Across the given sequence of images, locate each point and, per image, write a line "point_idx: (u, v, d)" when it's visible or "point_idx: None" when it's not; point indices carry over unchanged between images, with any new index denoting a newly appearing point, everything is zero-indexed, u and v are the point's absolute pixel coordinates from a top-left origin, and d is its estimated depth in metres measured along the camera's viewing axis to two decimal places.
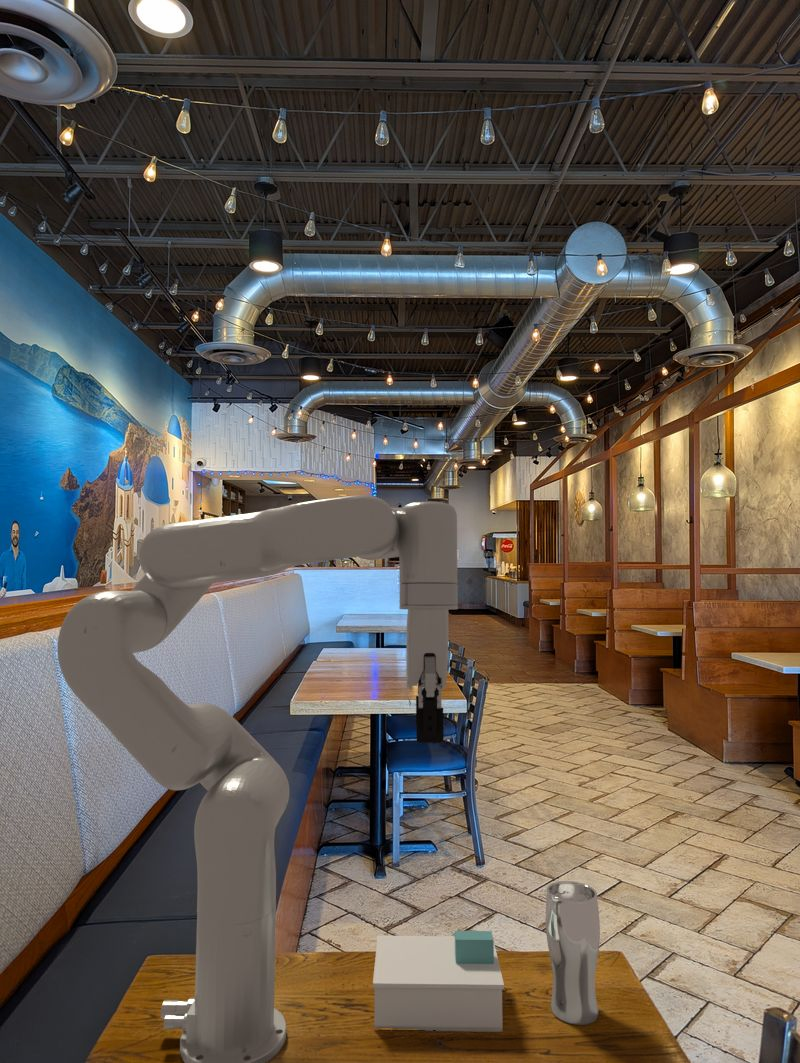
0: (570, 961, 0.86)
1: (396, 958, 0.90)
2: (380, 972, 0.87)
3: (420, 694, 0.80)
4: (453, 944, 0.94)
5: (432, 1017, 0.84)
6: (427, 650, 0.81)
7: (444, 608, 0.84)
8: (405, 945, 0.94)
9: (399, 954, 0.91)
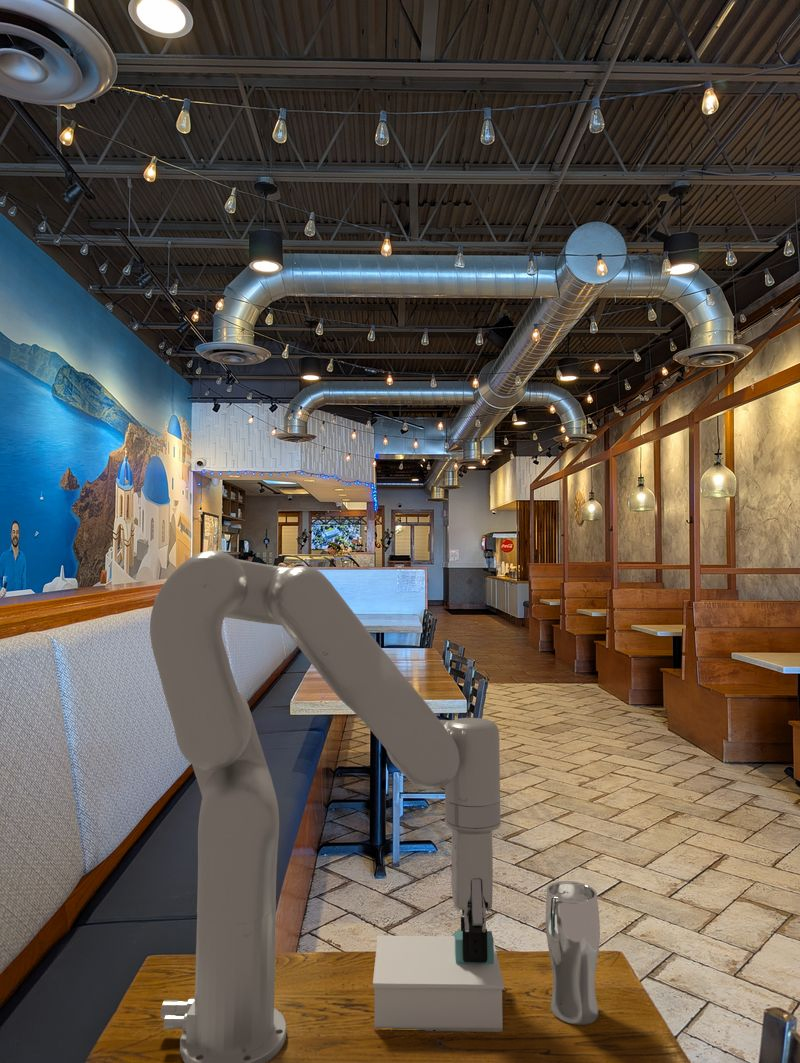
0: (570, 961, 0.86)
1: (396, 958, 0.90)
2: (380, 972, 0.87)
3: (466, 921, 0.88)
4: (453, 944, 0.94)
5: (432, 1017, 0.84)
6: (474, 876, 0.86)
7: (489, 830, 0.89)
8: (405, 945, 0.94)
9: (399, 954, 0.91)
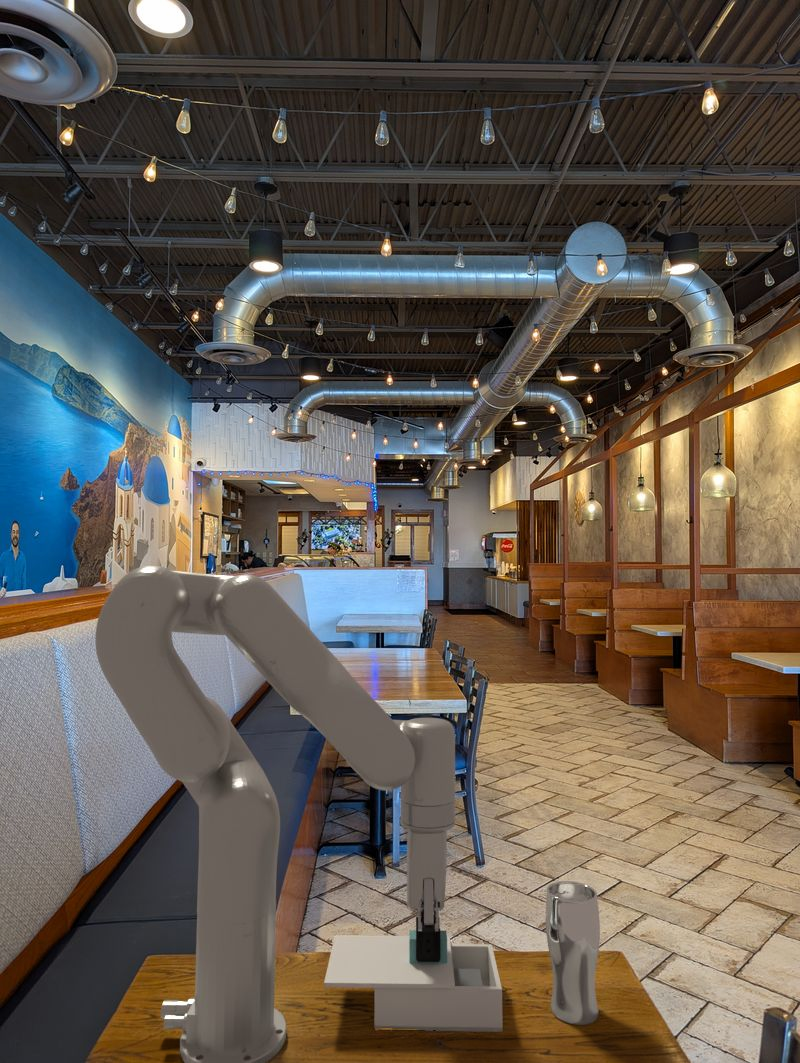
0: (570, 961, 0.86)
1: (350, 958, 0.90)
2: (333, 971, 0.87)
3: (419, 921, 0.88)
4: None
5: (432, 1017, 0.84)
6: (427, 875, 0.86)
7: (442, 830, 0.89)
8: (361, 944, 0.94)
9: (353, 953, 0.91)
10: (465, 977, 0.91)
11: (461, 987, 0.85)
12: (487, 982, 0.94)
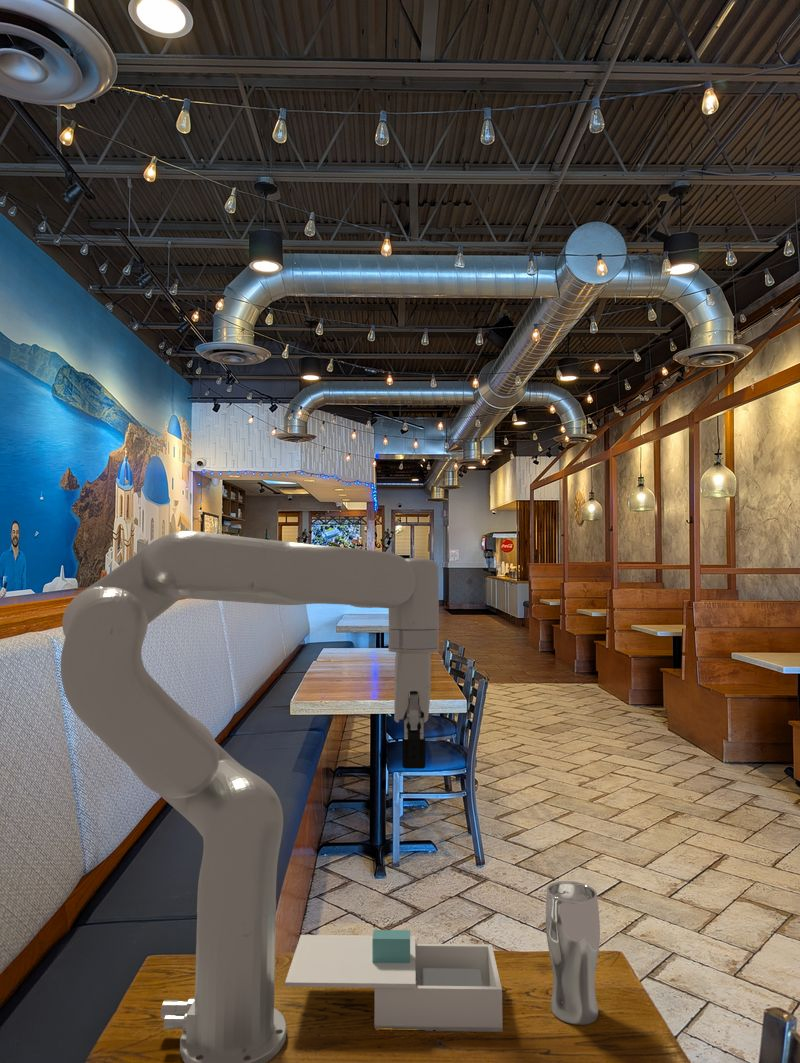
0: (570, 961, 0.86)
1: (314, 957, 0.90)
2: (295, 971, 0.87)
3: (405, 727, 0.94)
4: None
5: (432, 1017, 0.84)
6: (412, 689, 0.95)
7: (427, 651, 0.97)
8: (326, 944, 0.94)
9: (317, 953, 0.91)
10: (465, 977, 0.91)
11: (461, 987, 0.85)
12: (487, 982, 0.94)
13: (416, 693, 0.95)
